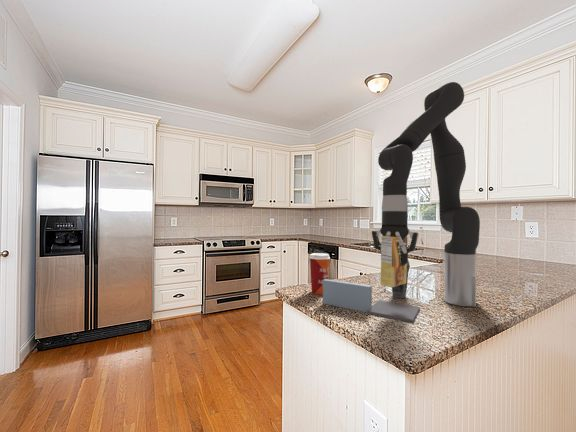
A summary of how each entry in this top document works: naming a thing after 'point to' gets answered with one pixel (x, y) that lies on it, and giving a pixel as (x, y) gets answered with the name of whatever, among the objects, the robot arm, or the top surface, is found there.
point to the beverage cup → (401, 287)
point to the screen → (347, 295)
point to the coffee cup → (318, 271)
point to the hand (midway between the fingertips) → (394, 263)
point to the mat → (394, 311)
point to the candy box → (392, 262)
